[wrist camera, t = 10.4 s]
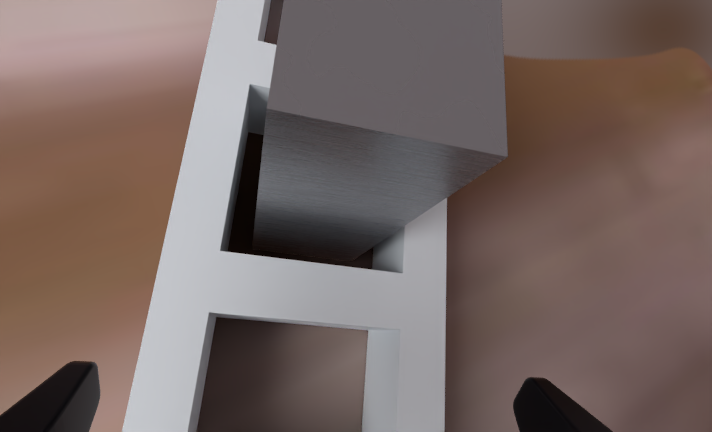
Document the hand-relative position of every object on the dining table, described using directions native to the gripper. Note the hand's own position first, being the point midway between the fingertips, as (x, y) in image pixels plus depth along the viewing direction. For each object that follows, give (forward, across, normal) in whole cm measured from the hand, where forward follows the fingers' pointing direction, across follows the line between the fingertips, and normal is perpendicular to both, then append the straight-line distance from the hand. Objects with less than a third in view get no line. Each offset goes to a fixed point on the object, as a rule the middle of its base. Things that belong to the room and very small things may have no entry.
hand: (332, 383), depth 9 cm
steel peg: (+11, 0, +2) cm, 11 cm away
